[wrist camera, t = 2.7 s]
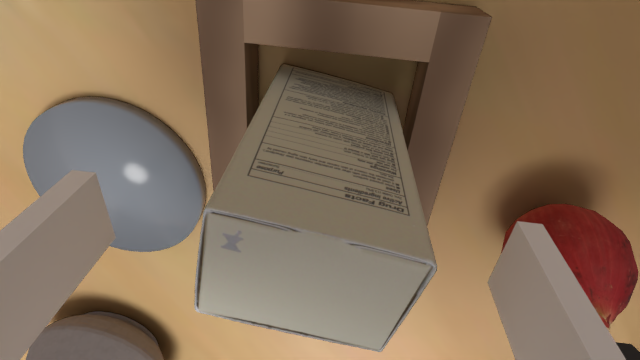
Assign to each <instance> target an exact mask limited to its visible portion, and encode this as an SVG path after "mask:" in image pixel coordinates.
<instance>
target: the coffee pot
mask: <svg viewBox="0 0 640 360" xmlns="http://www.w3.org/2000/svg"><path fill="white" fill-rule="evenodd" d="M26 360H164V358H163V355H162V353H161V350H160V349H159V345H158V343H157V340H156V338H155V337H154V336H153V335H152V333H151V332H150V331H148V330H147V329H146V328H145V327H144V326H142V325H141V324H139V323H137V322H136V321H134V320H132V319H129V318H127V317H125V316H122V315H118V314H114V313H111V312H101V311H97V312H89V313H86V314H83V315H75V316H71V317H67V318H64V319H61V320H59V321H56V322H54V323H52V324H50V325H48V326H47V327H45V328H44V330H43V331H42V332H41V333H40V335H39V336H38V337H37V339H36V340H35V341H34V342H33V344H32V345H31V346H30V348H29V351H28V354H27V357H26Z"/></svg>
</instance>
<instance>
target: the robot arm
mask: <svg viewBox="0 0 640 360" xmlns="http://www.w3.org/2000/svg"><path fill="white" fill-rule="evenodd" d="M115 238H116V237H115V234H114V230H113V227H112V224H111V221H110V217H109V214H108V211H107V208H106V204H105V201H104V198H103V195H102V191H101V188H100V185H99V182H98V178H97V175H96V173H94V172H86V171H77V170H71V171H70V172H69V173H68V174H67V175H65V176H64V177H63V178H62V179H61V180H60V181H58V182H57V183H56V184H55V185H54V186H52V187H51V188H50V189H49V190H48V191H47V192H45V193H44V194H43V195H42V196H41V197H39V198H38V199H37V200H36V201H35V202H34V203H32V204H31V205H30V206H29V207H28V208H26V209H25V210H24V211H23V212H22V213H21V214H19V215H18V216H17V217H16V218H15V219H13V220H12V221H11V222H10V223H9V224H8V225H6V226H5V227H4V228H3V229H2V230H1V231H0V360H20V359H21V358H22V356H23V355H24V354H25V353H26V351H27V350H28V349H29V348H30V346H31V345H32V344H33V342H34V341H35V340H36V339H37V337H38V336H39V335H40V333H41V332H42V331H43V330H44V328H45V327H46V326H47V325H48V323H49V322H50V321H51V319H52V318H53V317H54V316H55V314H56V313H57V312H58V311H59V309H60V308H61V307H62V305H63V304H64V303H65V302H66V300H67V299H68V298H69V296H70V295H71V294H72V293H73V291H74V290H75V289H76V288H77V286H78V285H79V284H80V282H81V281H82V280H83V279H84V277H85V276H86V275H87V273H88V272H89V271H90V270H91V268H92V267H93V266H94V265H95V263H96V262H97V261H98V259H99V258H100V257H101V256H102V254H103V253H104V252H105V251H106V249H107V248H108V247H109V245H110V244H111V243H112V242H113V240H114V239H115ZM488 285H489V288H490V290H491V293H492V296H493V299H494V302H495V304H496V307H497V310H498V313H499V315H500V318H501V321H502V324H503V326H504V329H505V332H506V335H507V338H508V340H509V343H510V346H511V349H512V351H513V354H514V357H515V360H640V352H639V351H638V350H637V349H636V348H635V347H634V346H633V345H632V344H625V343H617V342H615V341H614V339H613V338H612V336H611V334H610V333H609V331H608V329H607V328H606V326H605V325H604V323H603V321H602V320H601V318H600V316H599V315H598V313H597V312H596V310H595V308H594V307H593V305H592V303H591V302H590V300H589V299H588V297H587V295H586V294H585V292H584V290H583V289H582V287H581V286H580V284H579V282H578V281H577V279H576V278H575V276H574V274H573V273H572V271H571V269H570V268H569V266H568V265H567V263H566V261H565V260H564V258H563V256H562V255H561V253H560V252H559V250H558V248H557V247H556V245H555V243H554V242H553V240H552V239H551V237H550V235H549V234H548V232H547V230H546V229H545V227H544V226H543V224H538V223H529V222H520V221H517V223H516V225H515V227H514V229H513V231H512V233H511V235H510V237H509V239H508V241H507V243H506V245H505V247H504V249H503V251H502V253H501V255H500V257H499V259H498V261H497V263H496V266H495V268H494V270H493V272H492V274H491V276H490V278H489V280H488Z"/></svg>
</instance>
